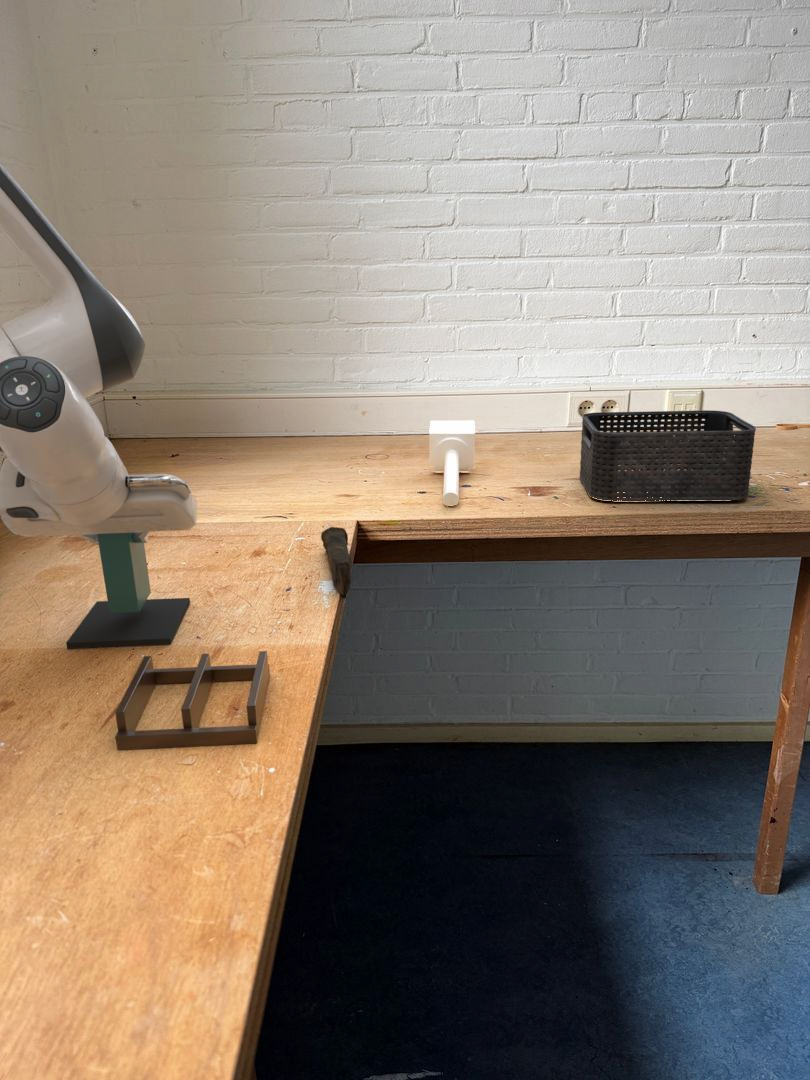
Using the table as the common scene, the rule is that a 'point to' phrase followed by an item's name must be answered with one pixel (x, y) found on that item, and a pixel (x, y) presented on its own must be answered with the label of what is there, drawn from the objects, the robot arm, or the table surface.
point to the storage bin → (666, 456)
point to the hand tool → (338, 557)
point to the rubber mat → (130, 625)
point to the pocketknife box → (124, 572)
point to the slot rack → (191, 705)
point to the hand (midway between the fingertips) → (121, 538)
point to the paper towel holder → (451, 453)
